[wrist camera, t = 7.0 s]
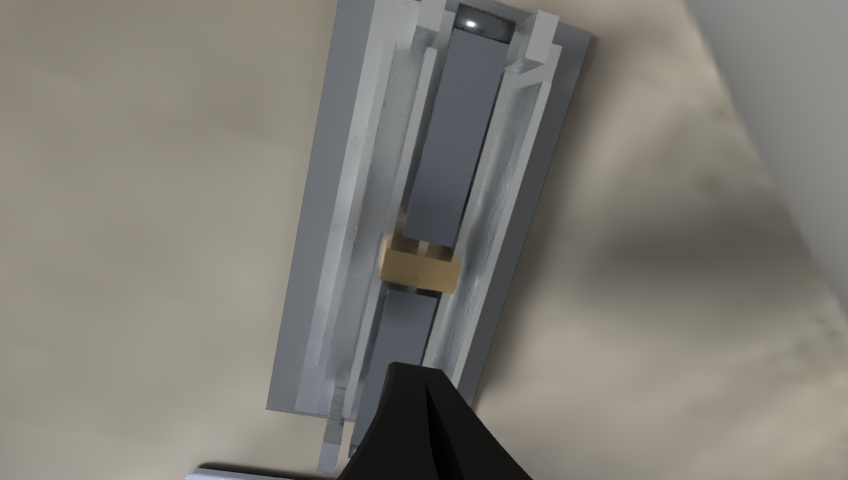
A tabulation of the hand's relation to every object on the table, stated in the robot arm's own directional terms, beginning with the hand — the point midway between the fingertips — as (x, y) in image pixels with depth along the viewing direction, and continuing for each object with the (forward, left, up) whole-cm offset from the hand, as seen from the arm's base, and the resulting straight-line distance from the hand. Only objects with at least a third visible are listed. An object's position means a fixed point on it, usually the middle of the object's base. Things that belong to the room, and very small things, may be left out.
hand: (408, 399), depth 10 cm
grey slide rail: (+2, 0, -7) cm, 7 cm away
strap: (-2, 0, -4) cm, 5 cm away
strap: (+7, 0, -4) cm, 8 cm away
